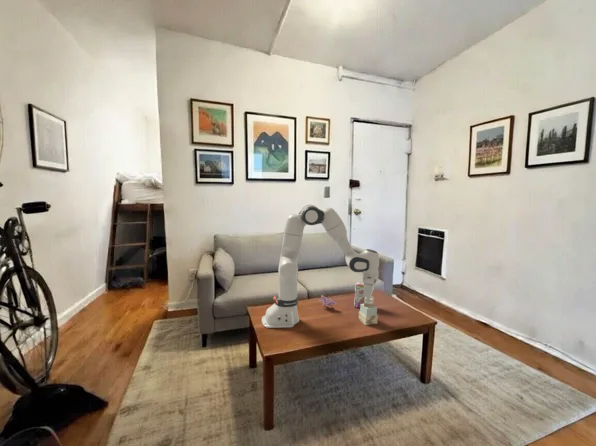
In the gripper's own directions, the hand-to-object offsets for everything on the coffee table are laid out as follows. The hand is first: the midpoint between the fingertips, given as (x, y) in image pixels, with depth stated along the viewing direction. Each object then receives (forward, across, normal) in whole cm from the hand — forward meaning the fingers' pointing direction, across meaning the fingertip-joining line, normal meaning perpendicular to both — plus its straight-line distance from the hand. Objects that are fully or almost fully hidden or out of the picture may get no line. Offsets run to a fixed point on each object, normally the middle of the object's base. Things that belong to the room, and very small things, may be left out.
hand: (369, 299), depth 161 cm
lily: (+14, -6, -28) cm, 32 cm away
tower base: (+14, 0, 0) cm, 14 cm away
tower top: (+9, 0, 0) cm, 9 cm away
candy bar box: (+14, -19, -6) cm, 25 cm away
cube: (+4, 0, 0) cm, 4 cm away
